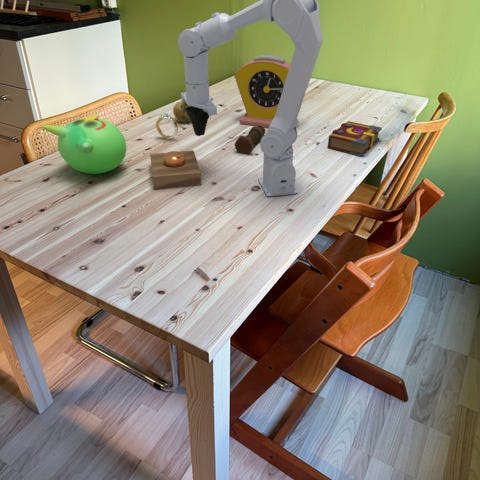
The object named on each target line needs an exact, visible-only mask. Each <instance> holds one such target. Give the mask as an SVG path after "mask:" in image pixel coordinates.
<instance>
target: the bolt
mask: <svg viewBox="0 0 480 480" xmlns="http://www.w3.org/2000/svg"><path fill="white" fill-rule="evenodd" d="M265 134H266V129H265V127H262V126H253V127H251V128H250V130H249V131H248V133H247V135H239V136H238V138H237V139H236V141H235V142H234V144H233V145H234V148H235V150H236V152H237V153H238V154H241V155H244V156H245V155H248V156H249V154H250V153H251V152H252V151H253V149H254V148H255V144H256V143H260V142H261V139H262V137H263V136H264V135H265Z"/></svg>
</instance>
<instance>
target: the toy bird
mask: <svg viewBox="0 0 480 480" xmlns="http://www.w3.org/2000/svg"><path fill="white" fill-rule="evenodd" d="M99 116H100V114H99V113H95V114H91V115H90V116H87V117H82V118H78V119H77V118H76V119H75V120H72V121H71V122H69V123H67V124H66V125H65V126H63V125H55V124H54V125H52V124H43V125H41V128H42V129H43V130H44V131H47V132H49V133H50V134H53V135H55V136H57V137H58V138H57V149H58V152H59V154H60V156H61V158H62V159H63V160H64V162H66V163H67V165H69V166H70V167H71V168H73V169H74V170H76V171H79V172H82V173H84V174H89V175H91V174H92V175H97V174H98V175H99V174H104V173H108V172H110V171H112V170H114V169H116V168H117V167H119V166H120V165H121V163H122V162H123V161H124V159H125V156H126V153H127V142H126V138H125V137H124V135H123V133H122V132H121V130H119V128H118V127H117V126H116V125H114V124H113V123H111V122H110V121H108V120H106V119H103V118H98V117H99Z"/></svg>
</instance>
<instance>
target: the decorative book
mask: <svg viewBox="0 0 480 480" xmlns="http://www.w3.org/2000/svg"><path fill="white" fill-rule="evenodd" d="M382 128H383V127H382V126H381V127H380V126H376V125H370V124H369V125H368V124H363V123H359V122H353V121H349V120H348V121H346V122H343V123H341V124H340V127H338V128H336V129H333V130H332V131H331V134H329V136H328V141H327V148H328V149H331V150H335V151H339V152H344V153H346V154H350V155H353V156H357V157H360V158H363V157H364V156H365V155H366V154H367V152H368V151H369V150H371V149H373V146H374V145H376V144H377V143H378V142H380V139H381V138H380V137H379V134H380V132H381V131H382Z"/></svg>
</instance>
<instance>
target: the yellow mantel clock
mask: <svg viewBox="0 0 480 480" xmlns="http://www.w3.org/2000/svg"><path fill="white" fill-rule="evenodd" d="M290 64H291V62H289V61H286V59H285V58H283V57H281V56H279V55H275V54H262V55H257V56H255V57H254V58H253V59H252V60H251V61H248V62H247V63H245V64H244V65H242V66H241V67H240V68H238V69H237V70H236V71H235V72H234V76H233V77H234V79H235V82H236V85H237V88H238V91H239V94H240V97H241V99H242V104H243V105H244V106H243V107H244V109H245V110H244V111H245V112H246V113H245V114H244V115H242V117H241V118H240V119H239V124H240V125H246V126H253V127H257V126H262V127H263V128H268V129H269V126H270V124H271V122H272V120H273V119H274V117H275V115H276V111H277V108H278V105H279V101H280V98H281V94H282V91H283V88H284V84H285V81H286V78H287V74H288V71H289V68H290Z"/></svg>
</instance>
